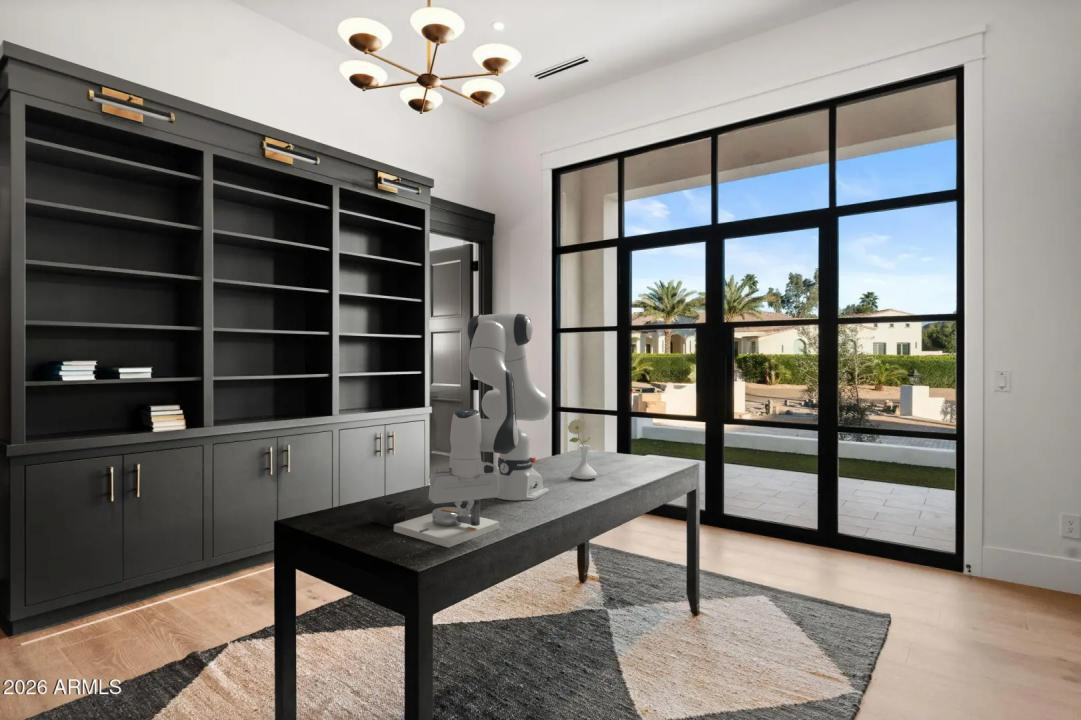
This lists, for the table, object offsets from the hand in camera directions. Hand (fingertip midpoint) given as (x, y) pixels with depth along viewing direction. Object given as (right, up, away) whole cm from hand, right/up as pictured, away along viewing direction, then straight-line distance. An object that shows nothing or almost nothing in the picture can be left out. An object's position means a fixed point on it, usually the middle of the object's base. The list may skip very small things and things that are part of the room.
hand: (463, 515), depth 169 cm
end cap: (-25, -6, +12) cm, 29 cm away
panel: (-6, -7, +8) cm, 12 cm away
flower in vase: (+39, -6, +82) cm, 91 cm away
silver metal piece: (-3, -4, +7) cm, 8 cm away
